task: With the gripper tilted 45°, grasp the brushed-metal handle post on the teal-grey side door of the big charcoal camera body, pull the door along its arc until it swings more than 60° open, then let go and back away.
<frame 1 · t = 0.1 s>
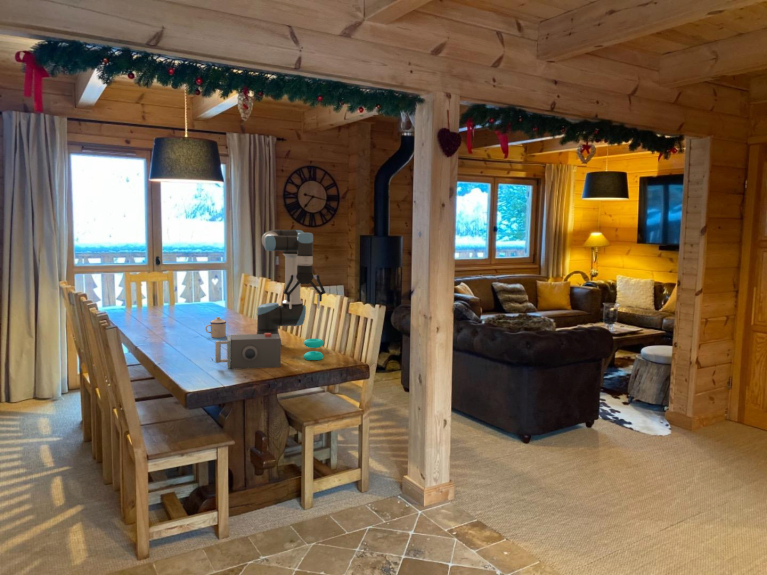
hand: (304, 308, 297), 28 cm above the table, tool pointing down, fingers open, 13 cm apart
teacup with lid: (215, 336, 363), on the table
camera body: (255, 365, 297), on the table
side door: (222, 351, 293), point 7 cm above the table, hinge at 0.0°
donuts: (313, 359, 313), on the table
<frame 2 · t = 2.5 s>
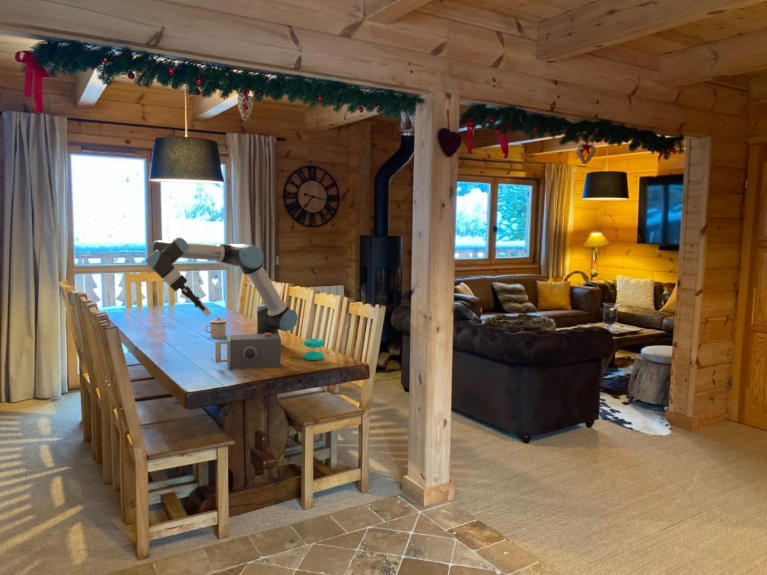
hand: (207, 312, 287), 26 cm above the table, tool tilted 40°, fingers open, 13 cm apart
nothing on the table moved.
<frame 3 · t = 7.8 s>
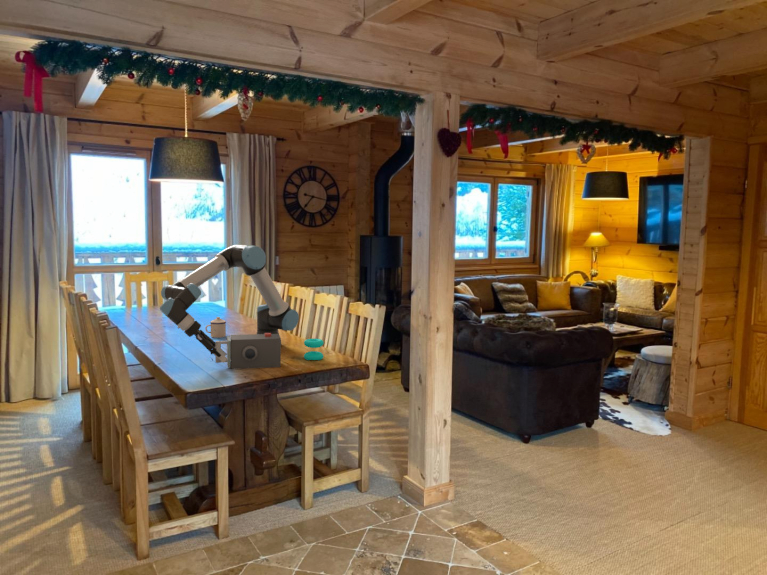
hand: (225, 358, 289), 5 cm above the table, tool tilted 45°, fingers open, 9 cm apart
side door: (222, 351, 293), point 7 cm above the table, hinge at -0.1°, touching gripper
everything else where it was.
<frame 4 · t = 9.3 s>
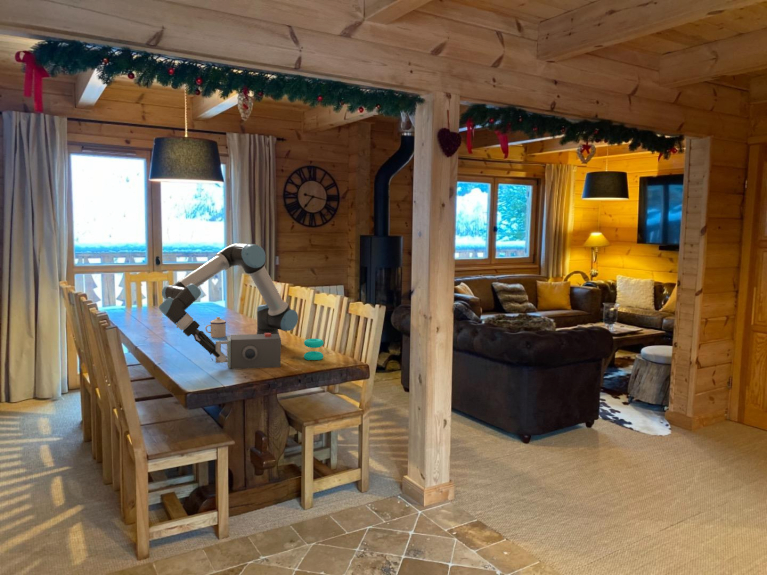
hand: (224, 360, 289), 4 cm above the table, tool tilted 45°, fingers closed on side door, 3 cm apart
side door: (223, 351, 293), point 7 cm above the table, hinge at -0.4°, touching gripper
everything else where it was.
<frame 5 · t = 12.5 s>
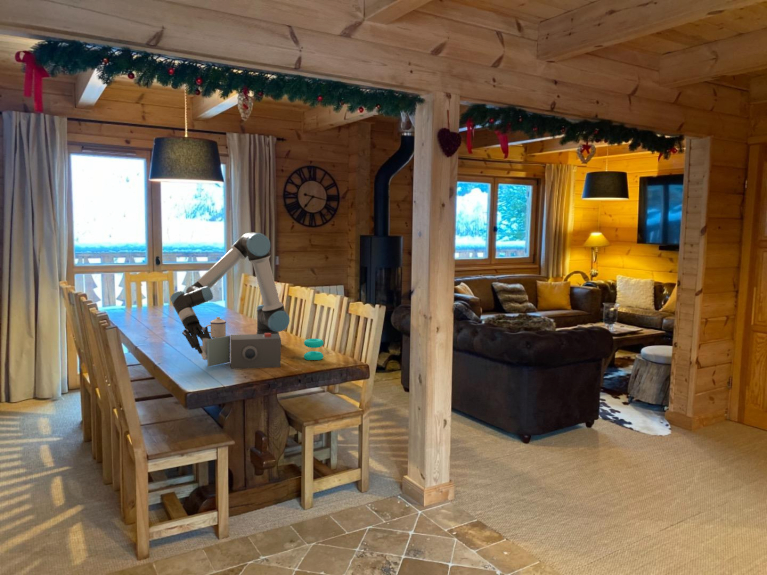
hand: (209, 357, 293), 4 cm above the table, tool tilted 45°, fingers open, 3 cm apart
side door: (215, 350, 296), point 7 cm above the table, hinge at 52.6°, touching gripper
everything else where it was.
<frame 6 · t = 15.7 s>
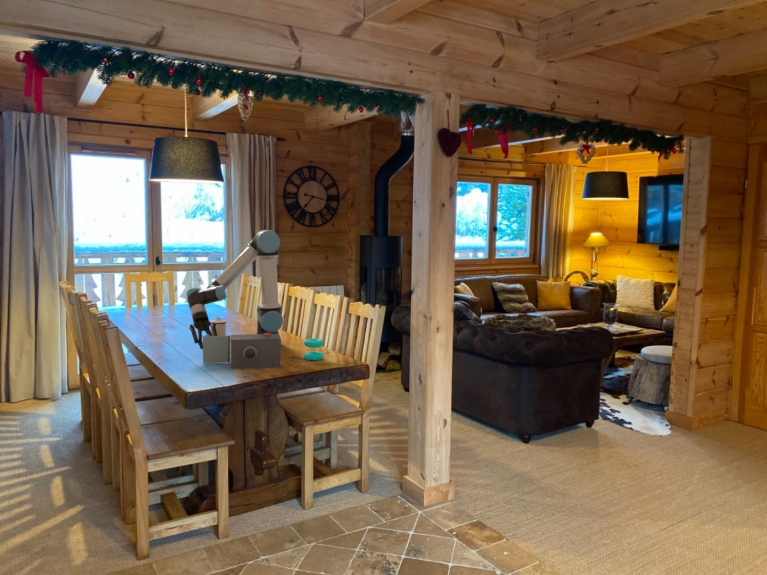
hand: (210, 353, 300), 4 cm above the table, tool tilted 45°, fingers open, 4 cm apart
side door: (216, 348, 300), point 7 cm above the table, hinge at 91.2°, touching gripper
everything else where it was.
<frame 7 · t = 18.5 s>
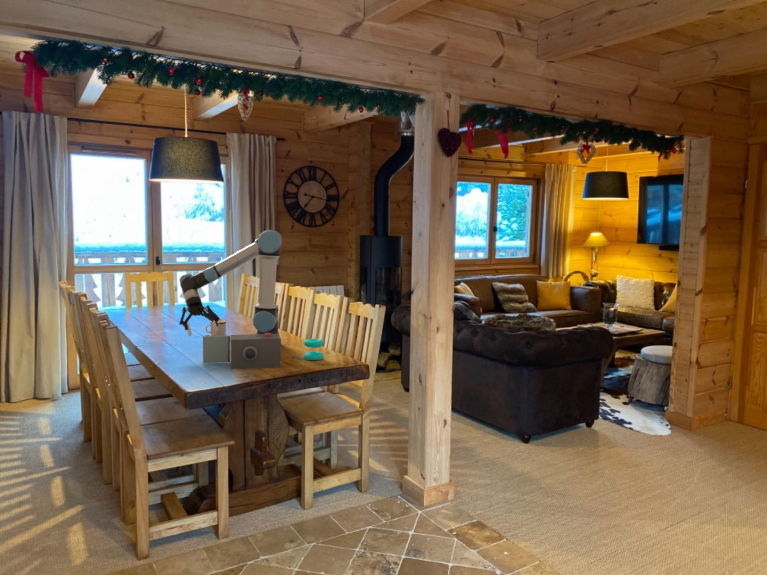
hand: (203, 333, 308), 12 cm above the table, tool tilted 45°, fingers open, 13 cm apart
side door: (216, 348, 300), point 7 cm above the table, hinge at 90.6°
everything else where it was.
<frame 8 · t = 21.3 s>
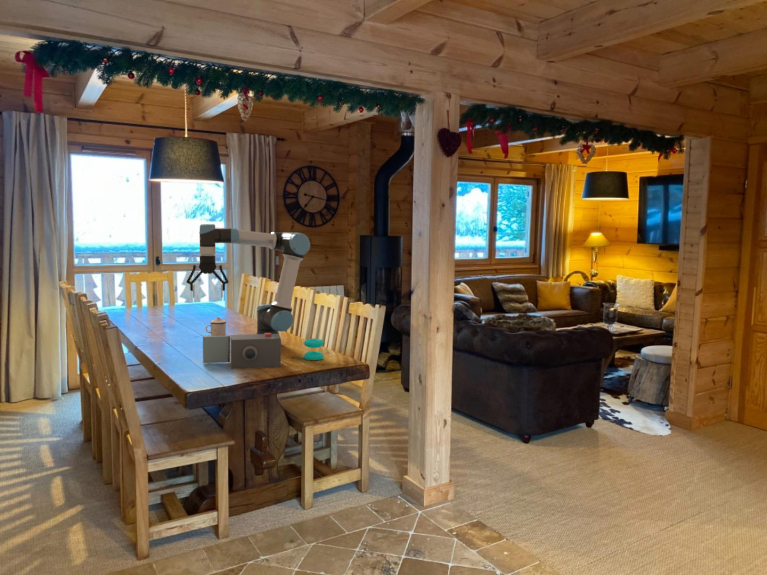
hand: (207, 297, 307), 31 cm above the table, tool pointing down, fingers open, 13 cm apart
nothing on the table moved.
at the end: side door at +91° (first picture: +0°); the gripper is holding nothing; donuts moved 0.3 cm from its start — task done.
